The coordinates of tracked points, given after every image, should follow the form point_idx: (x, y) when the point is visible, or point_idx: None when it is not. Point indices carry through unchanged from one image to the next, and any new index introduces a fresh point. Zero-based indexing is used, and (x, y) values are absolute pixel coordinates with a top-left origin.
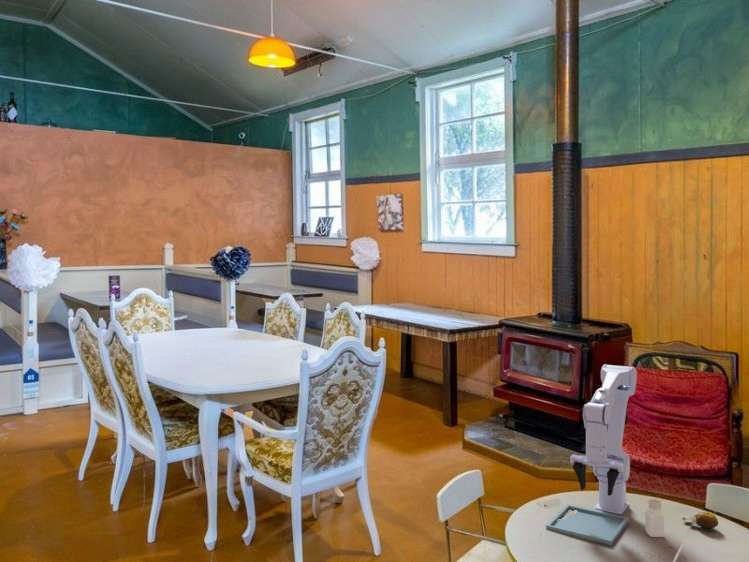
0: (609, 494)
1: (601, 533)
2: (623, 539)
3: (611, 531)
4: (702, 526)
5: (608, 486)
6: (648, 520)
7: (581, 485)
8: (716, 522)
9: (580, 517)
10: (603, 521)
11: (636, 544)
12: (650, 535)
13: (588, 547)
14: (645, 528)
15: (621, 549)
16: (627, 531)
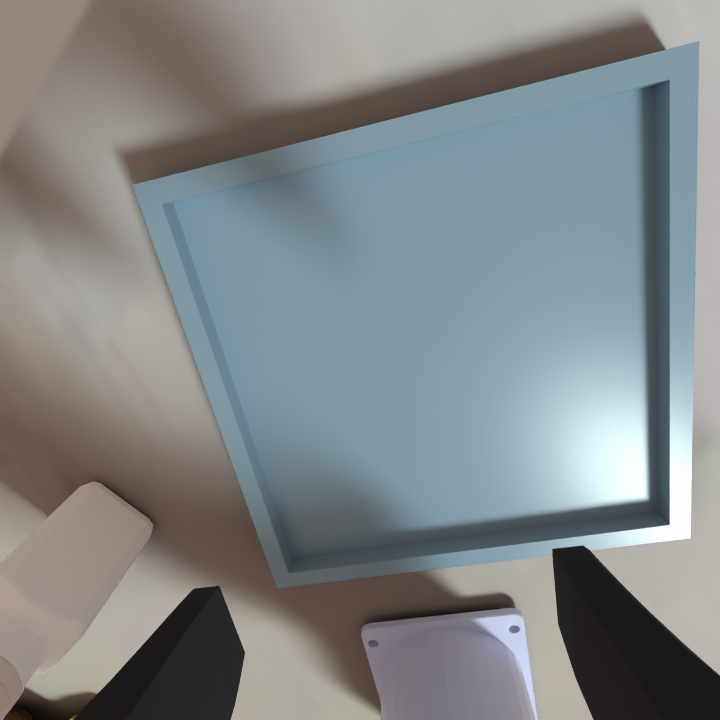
0: (191, 598)
1: (292, 305)
2: (174, 351)
3: (265, 381)
4: (15, 710)
5: (129, 699)
6: (53, 555)
7: (599, 589)
8: None
9: (530, 439)
10: (382, 480)
11: (84, 342)
12: (89, 484)
13: (249, 35)
14: (138, 530)
15: (89, 201)
16: (225, 467)
